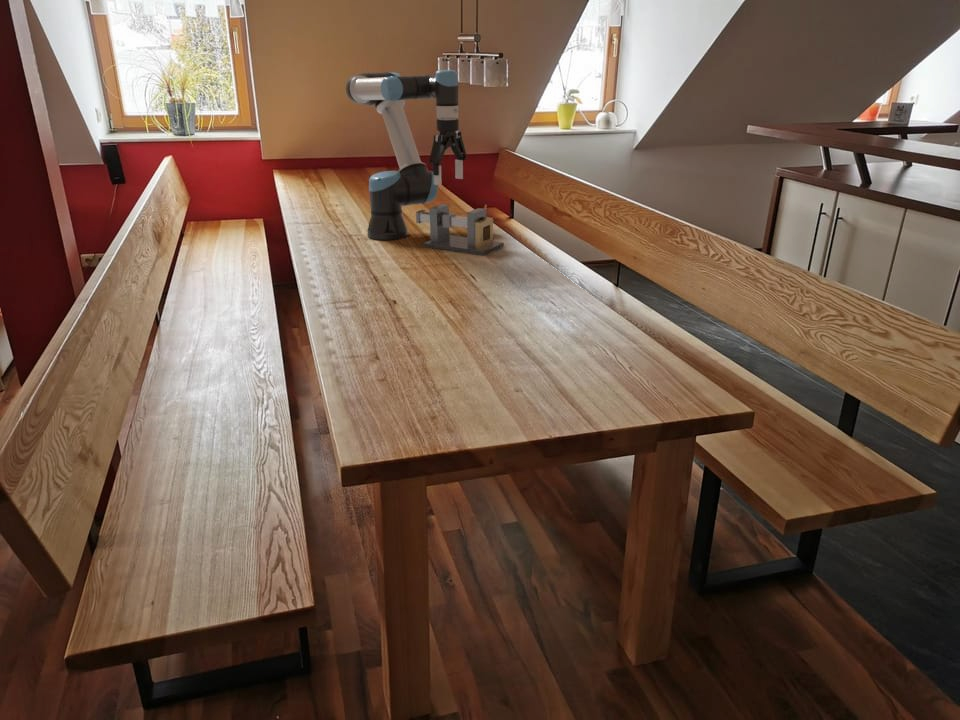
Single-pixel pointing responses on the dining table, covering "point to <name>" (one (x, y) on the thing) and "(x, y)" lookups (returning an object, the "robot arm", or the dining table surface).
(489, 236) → the block
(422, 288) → the dining table surface
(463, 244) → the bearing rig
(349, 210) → the dining table surface
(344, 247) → the dining table surface
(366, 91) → the robot arm
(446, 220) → the shaft
